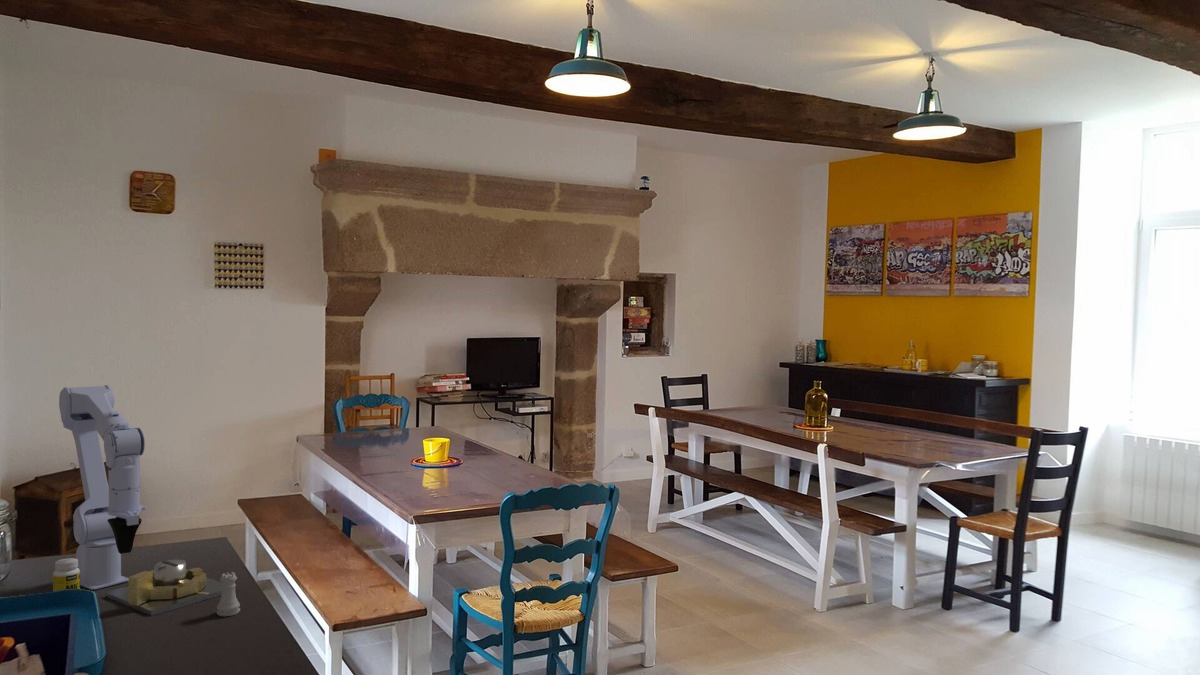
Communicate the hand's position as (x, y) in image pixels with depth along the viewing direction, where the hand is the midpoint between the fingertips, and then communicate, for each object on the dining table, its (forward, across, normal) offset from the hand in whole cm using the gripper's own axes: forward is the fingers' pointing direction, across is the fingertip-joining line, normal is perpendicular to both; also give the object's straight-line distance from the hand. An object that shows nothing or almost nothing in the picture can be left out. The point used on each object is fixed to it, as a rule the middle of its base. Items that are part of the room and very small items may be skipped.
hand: (124, 552), depth 181 cm
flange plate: (+10, -2, -8) cm, 13 cm away
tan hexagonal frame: (+9, -3, -7) cm, 11 cm away
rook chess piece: (+10, -21, -14) cm, 27 cm away
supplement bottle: (+10, +6, +10) cm, 15 cm away
